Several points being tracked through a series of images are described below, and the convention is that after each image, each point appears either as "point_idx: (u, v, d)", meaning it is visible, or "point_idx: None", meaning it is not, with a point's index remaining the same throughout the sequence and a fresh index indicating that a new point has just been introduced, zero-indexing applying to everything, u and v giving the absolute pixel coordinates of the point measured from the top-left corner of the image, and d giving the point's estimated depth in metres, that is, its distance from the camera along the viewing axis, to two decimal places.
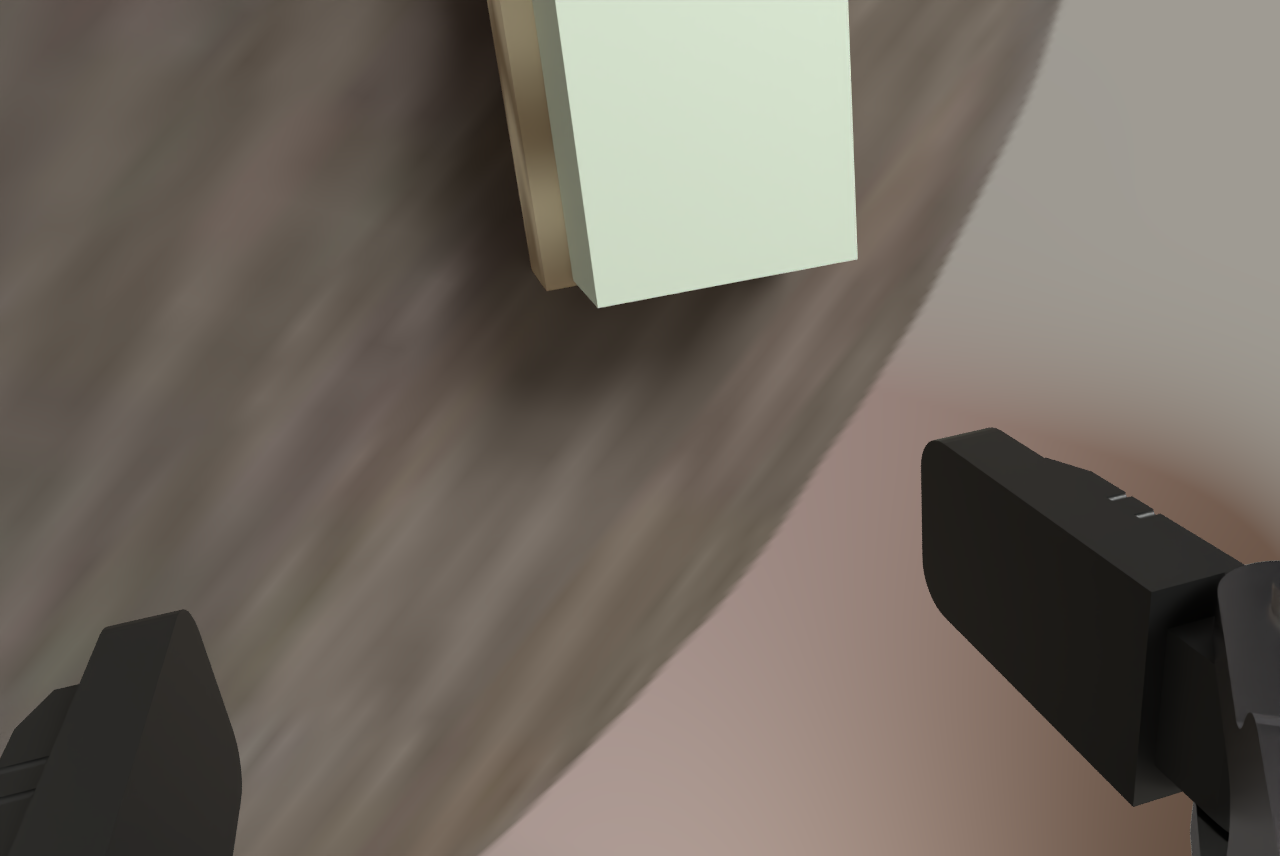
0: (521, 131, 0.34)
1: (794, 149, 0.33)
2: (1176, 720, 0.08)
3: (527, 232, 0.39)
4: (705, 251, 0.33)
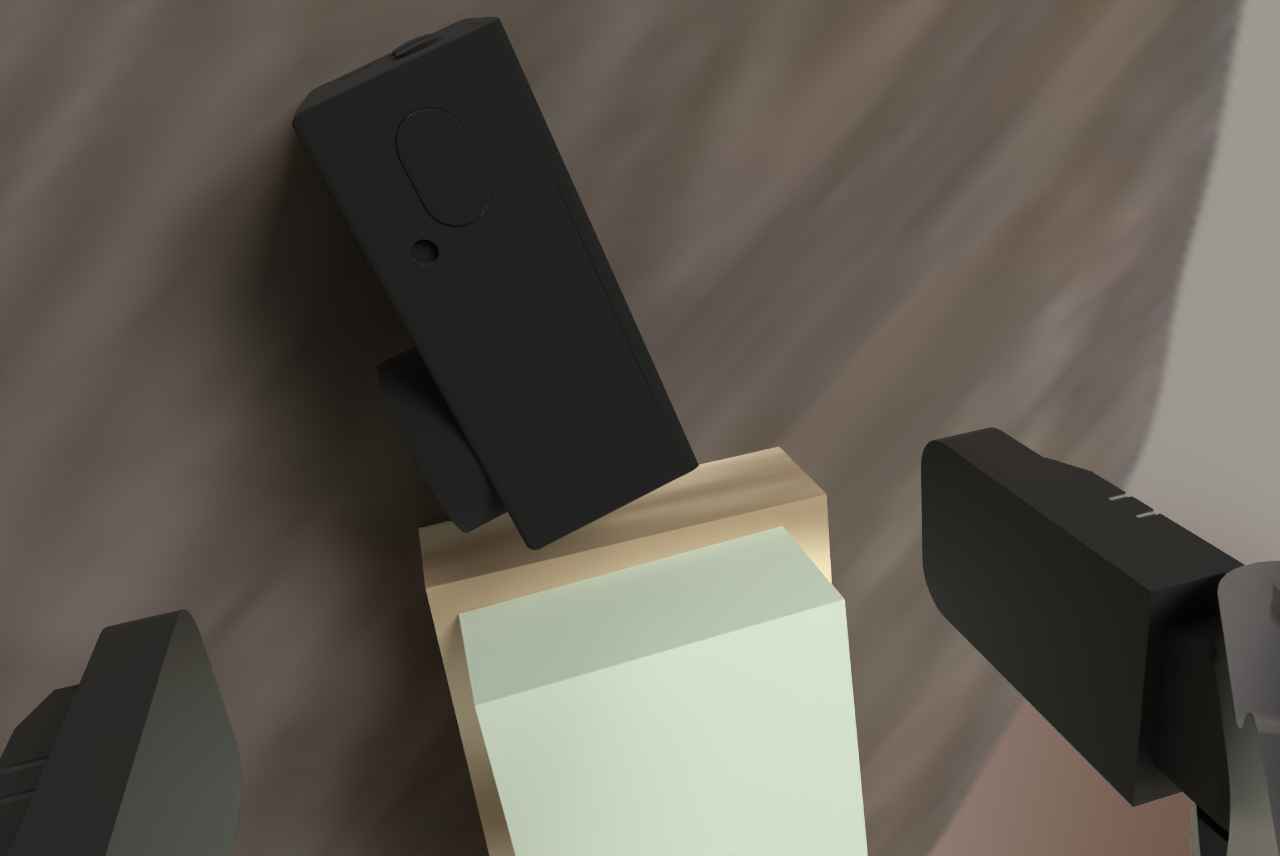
0: (480, 813, 0.29)
1: None
2: (1177, 720, 0.08)
3: None
4: None
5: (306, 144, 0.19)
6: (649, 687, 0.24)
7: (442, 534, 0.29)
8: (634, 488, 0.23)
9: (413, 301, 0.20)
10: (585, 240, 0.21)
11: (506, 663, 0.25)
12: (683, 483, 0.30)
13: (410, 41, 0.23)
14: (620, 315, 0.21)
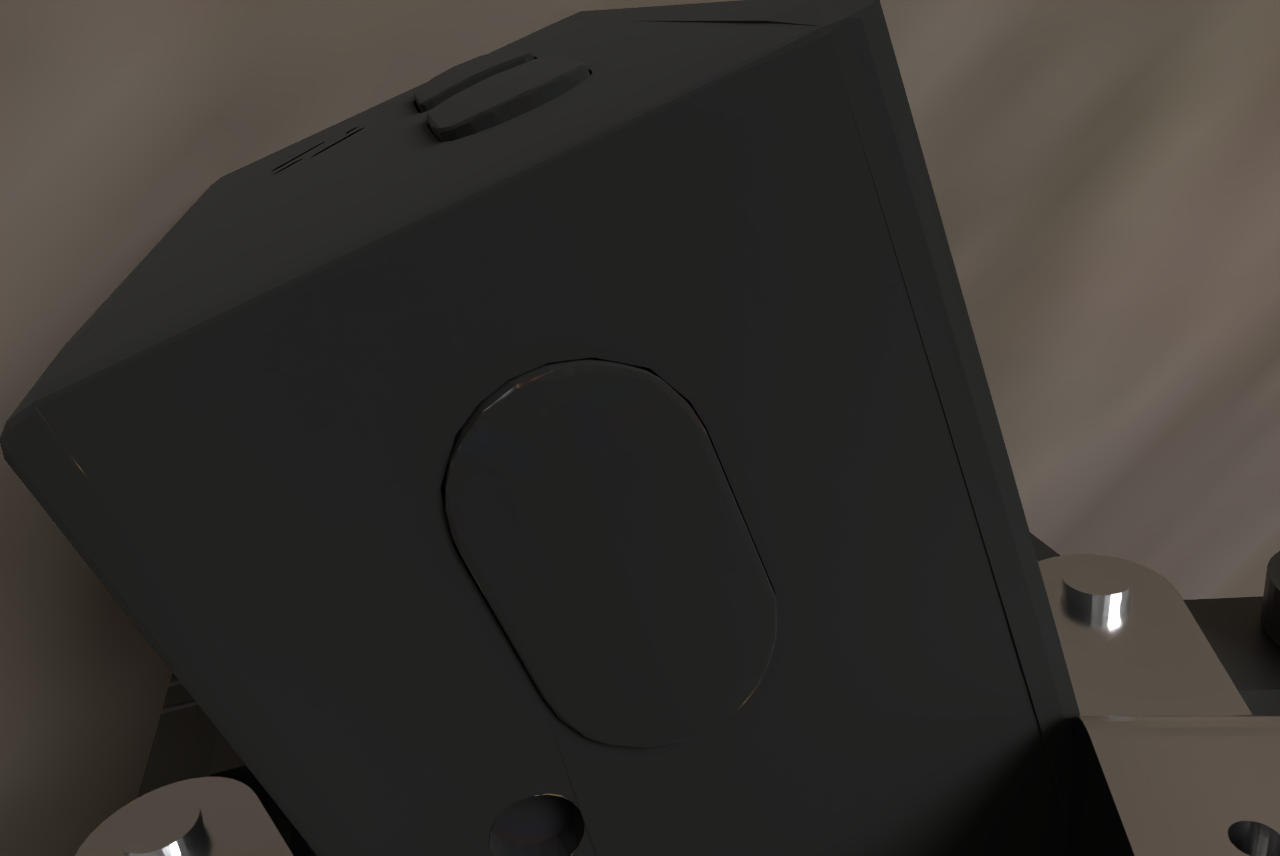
0: None
1: None
2: None
3: None
4: None
5: (68, 525, 0.04)
6: None
7: None
8: None
9: None
10: (1049, 733, 0.06)
11: None
12: None
13: (462, 68, 0.09)
14: None
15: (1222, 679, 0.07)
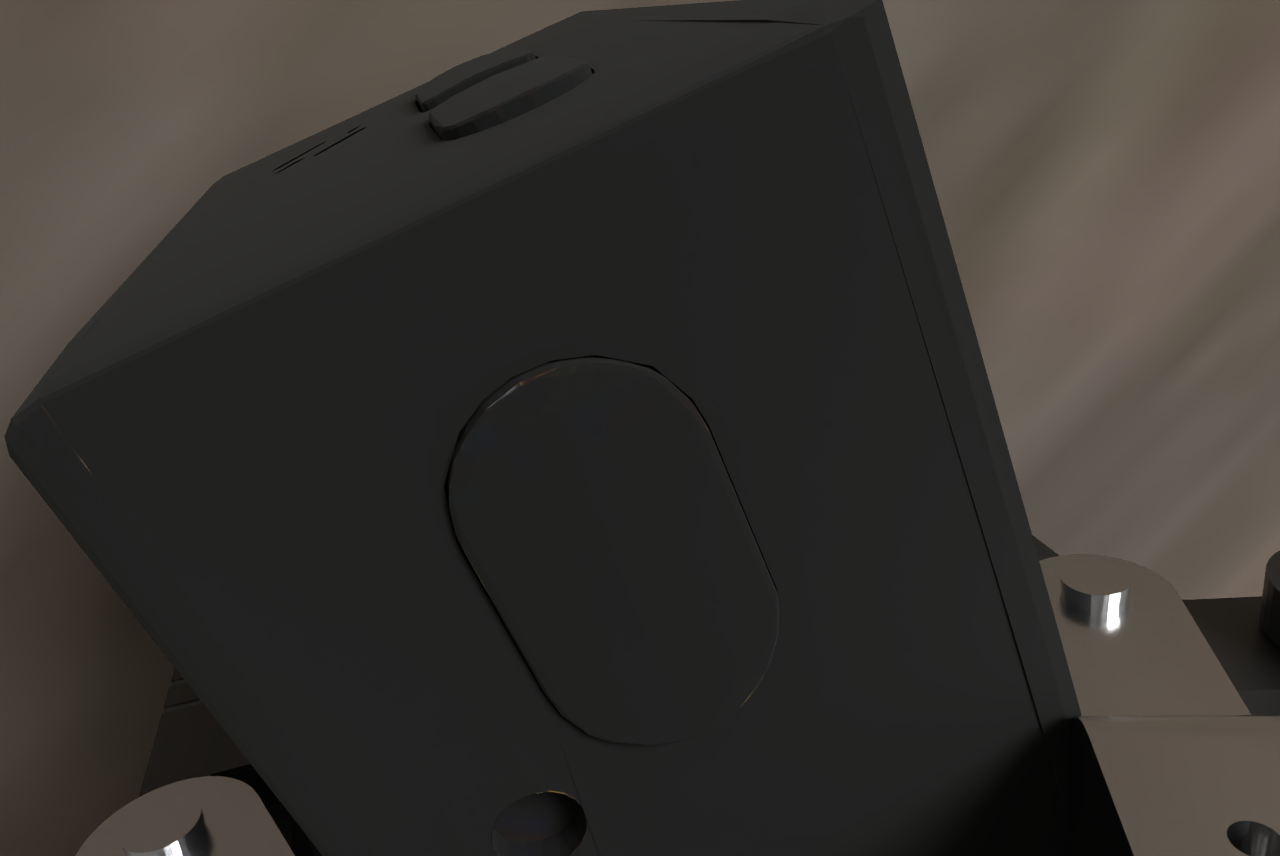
0: None
1: None
2: None
3: None
4: None
5: (72, 522, 0.04)
6: None
7: None
8: None
9: None
10: (1050, 730, 0.06)
11: None
12: None
13: (463, 67, 0.09)
14: None
15: (1221, 679, 0.07)
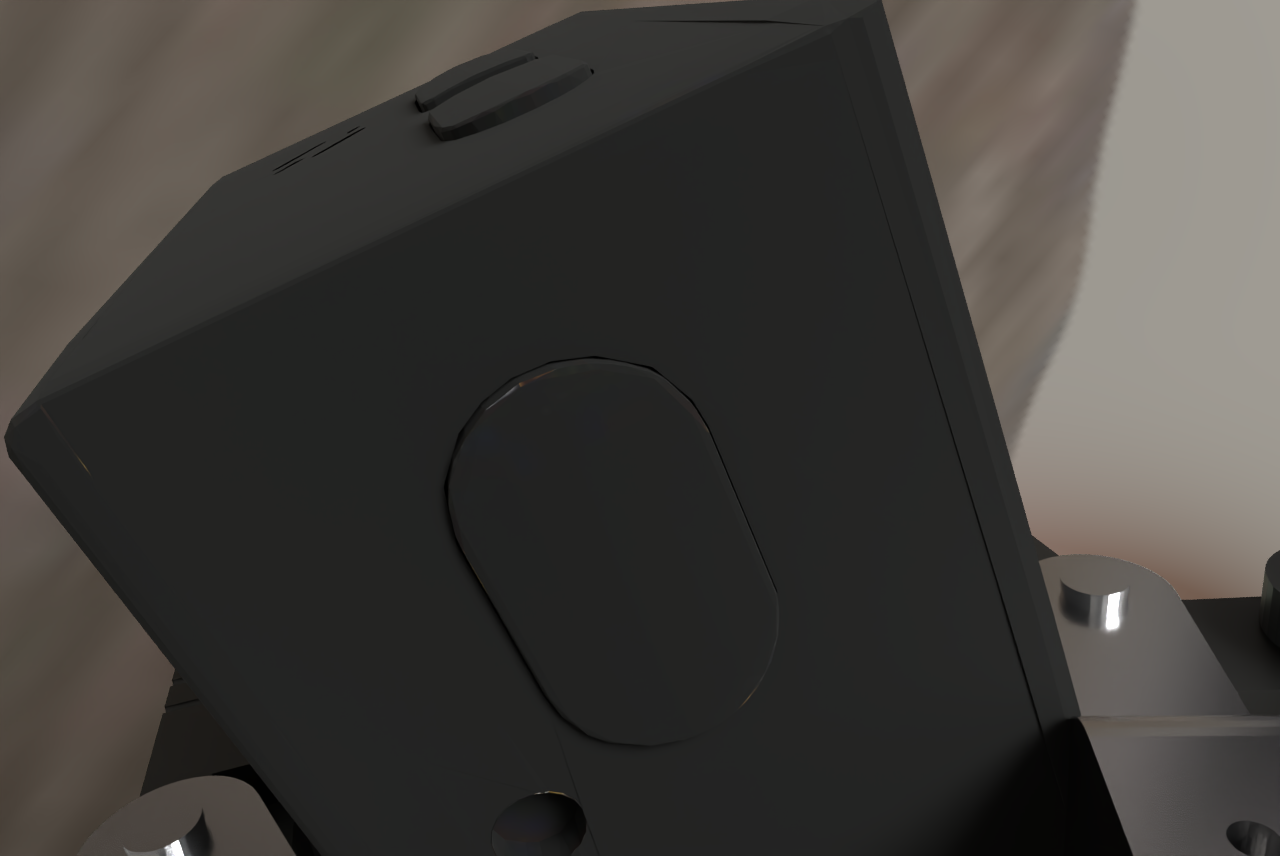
0: None
1: None
2: None
3: None
4: None
5: (72, 523, 0.04)
6: None
7: None
8: None
9: None
10: (1050, 731, 0.06)
11: None
12: None
13: (463, 68, 0.09)
14: None
15: (1220, 680, 0.07)
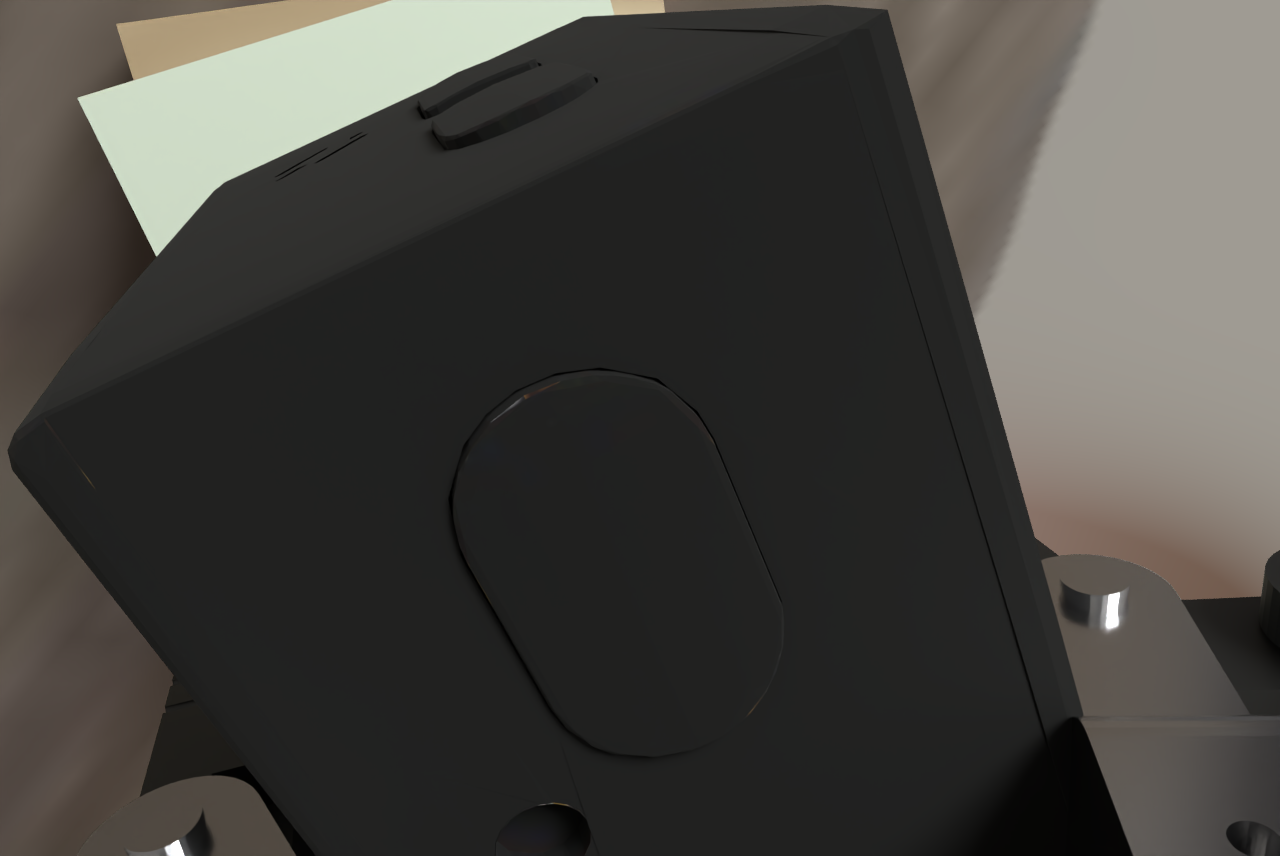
0: None
1: None
2: None
3: None
4: None
5: (75, 536, 0.04)
6: (334, 77, 0.18)
7: None
8: None
9: None
10: (1055, 741, 0.06)
11: None
12: None
13: (465, 74, 0.09)
14: None
15: (1220, 680, 0.07)
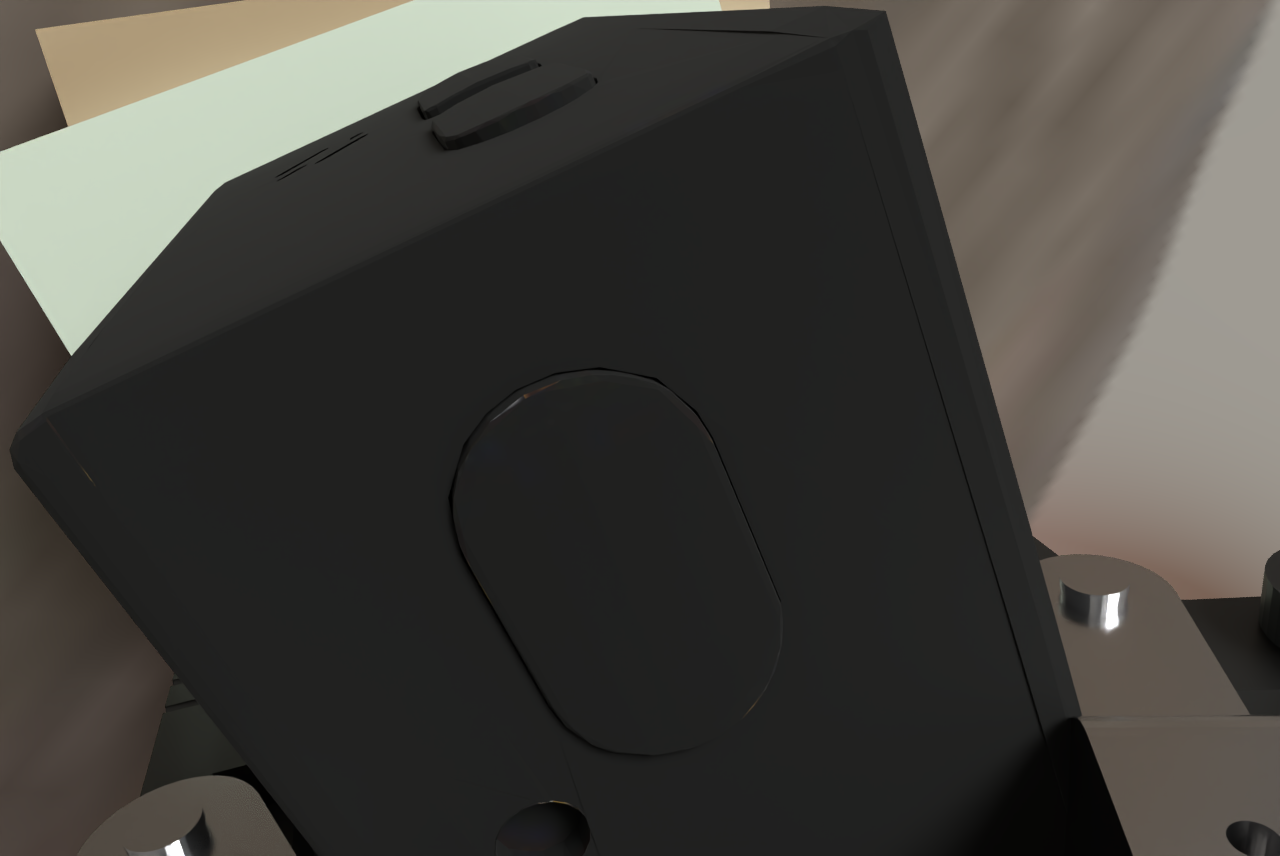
0: None
1: None
2: None
3: None
4: None
5: (77, 535, 0.04)
6: (329, 118, 0.12)
7: None
8: None
9: None
10: (1053, 739, 0.06)
11: None
12: None
13: (465, 74, 0.09)
14: None
15: (1220, 679, 0.07)
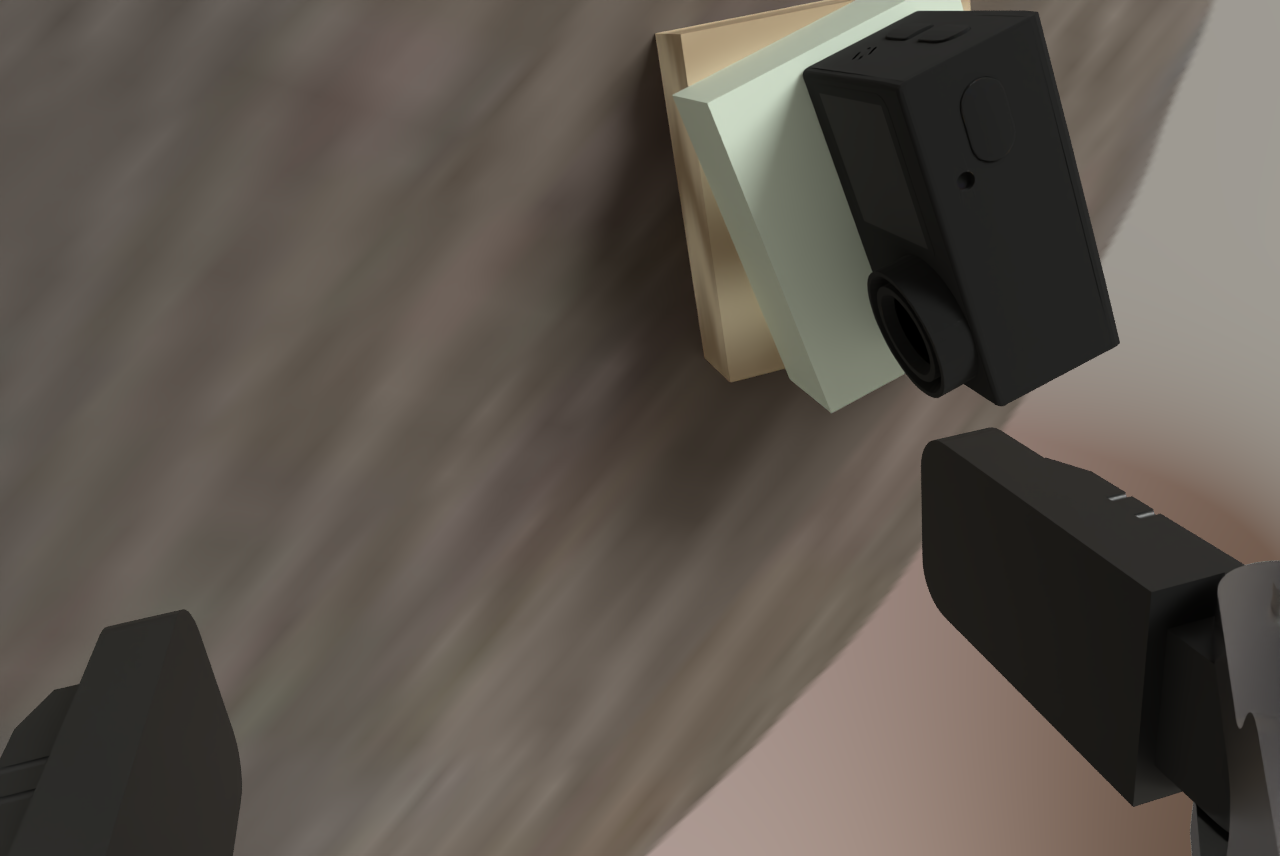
0: (711, 246, 0.39)
1: None
2: (1176, 720, 0.08)
3: (702, 325, 0.43)
4: None
5: (903, 104, 0.27)
6: None
7: (675, 30, 0.38)
8: (1075, 359, 0.31)
9: (952, 217, 0.28)
10: (1070, 171, 0.29)
11: (719, 87, 0.34)
12: None
13: (902, 29, 0.31)
14: (1085, 227, 0.29)
15: None
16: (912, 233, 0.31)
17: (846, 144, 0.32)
